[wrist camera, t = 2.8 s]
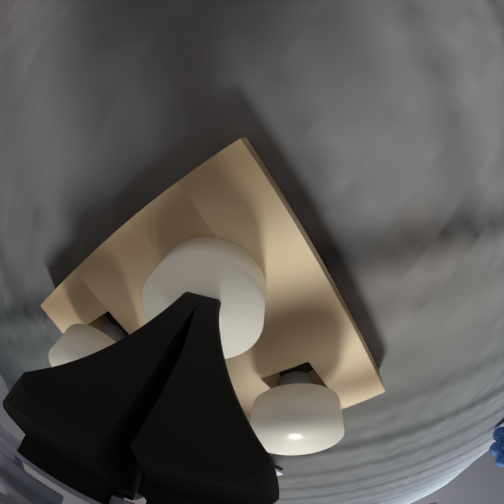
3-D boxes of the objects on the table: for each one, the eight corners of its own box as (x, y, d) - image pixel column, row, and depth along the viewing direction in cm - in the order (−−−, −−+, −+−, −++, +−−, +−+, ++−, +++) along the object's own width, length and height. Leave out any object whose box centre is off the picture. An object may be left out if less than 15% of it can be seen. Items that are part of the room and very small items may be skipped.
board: (378, 370, 16) (385, 391, 15) (195, 425, 21) (190, 442, 20) (246, 137, 11) (240, 138, 9) (55, 291, 16) (40, 305, 14)
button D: (163, 352, 15) (140, 405, 11) (119, 368, 16) (96, 411, 12) (108, 290, 13) (68, 337, 10) (71, 318, 15) (38, 357, 11)
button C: (285, 282, 14) (287, 335, 10) (210, 318, 15) (193, 370, 11) (231, 202, 12) (212, 233, 9) (156, 251, 14) (120, 293, 10)
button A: (346, 387, 15) (355, 440, 11) (279, 409, 16) (277, 460, 13) (316, 342, 13) (323, 405, 10) (239, 371, 15) (229, 429, 11)
